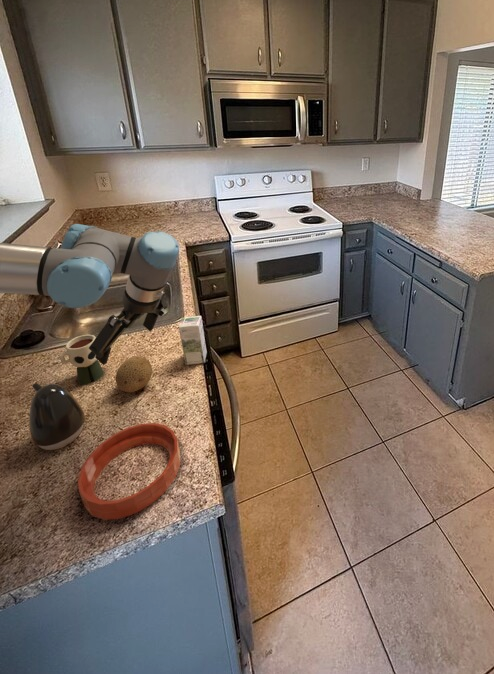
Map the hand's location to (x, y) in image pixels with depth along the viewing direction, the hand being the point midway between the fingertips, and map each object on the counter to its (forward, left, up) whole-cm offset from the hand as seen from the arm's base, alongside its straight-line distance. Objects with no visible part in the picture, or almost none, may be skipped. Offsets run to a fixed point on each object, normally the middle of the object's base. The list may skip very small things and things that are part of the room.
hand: (125, 343), depth 90 cm
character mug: (-14, +14, -18) cm, 27 cm away
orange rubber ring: (+1, -24, -18) cm, 30 cm away
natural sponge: (-1, +4, -18) cm, 19 cm away
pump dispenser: (-16, -7, -18) cm, 25 cm away
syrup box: (+15, +11, -18) cm, 27 cm away
